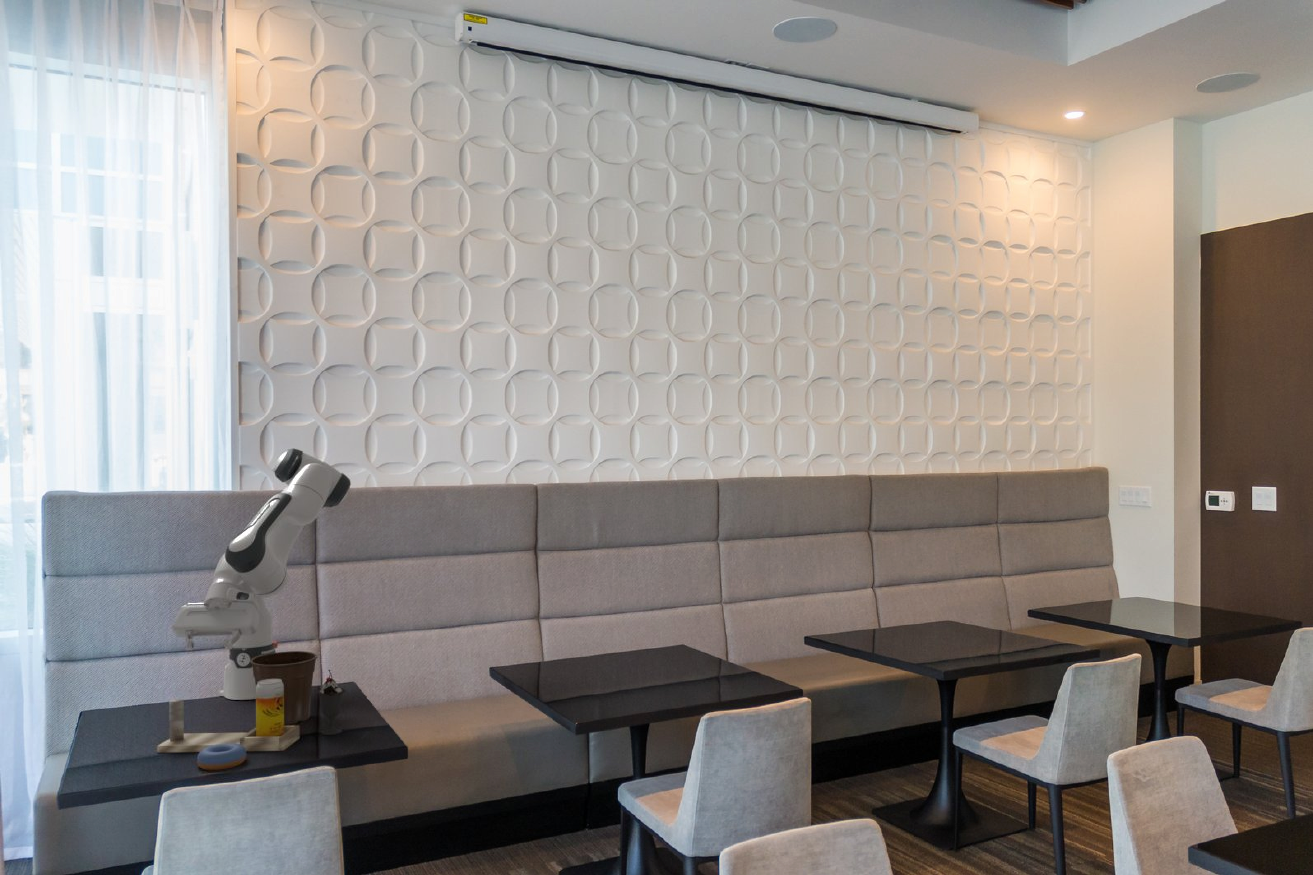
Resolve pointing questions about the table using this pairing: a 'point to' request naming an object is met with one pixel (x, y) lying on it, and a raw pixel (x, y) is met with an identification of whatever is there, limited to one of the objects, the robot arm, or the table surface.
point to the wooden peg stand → (219, 736)
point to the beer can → (269, 708)
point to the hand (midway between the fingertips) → (208, 648)
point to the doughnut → (221, 756)
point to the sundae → (331, 703)
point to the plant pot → (289, 680)
